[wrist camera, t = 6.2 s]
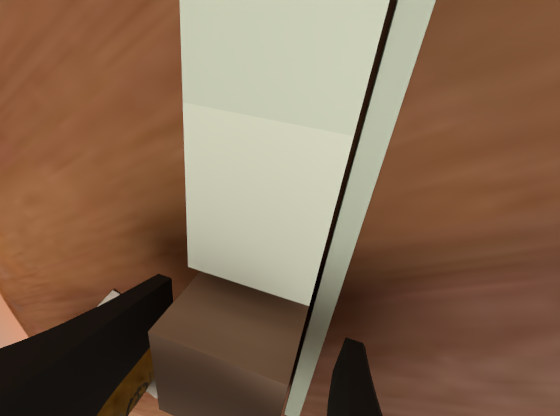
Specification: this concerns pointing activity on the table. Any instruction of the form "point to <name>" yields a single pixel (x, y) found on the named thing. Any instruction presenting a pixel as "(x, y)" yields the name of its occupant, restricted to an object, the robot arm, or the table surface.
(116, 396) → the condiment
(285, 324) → the walnut key block
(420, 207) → the table surface
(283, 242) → the sage bar
